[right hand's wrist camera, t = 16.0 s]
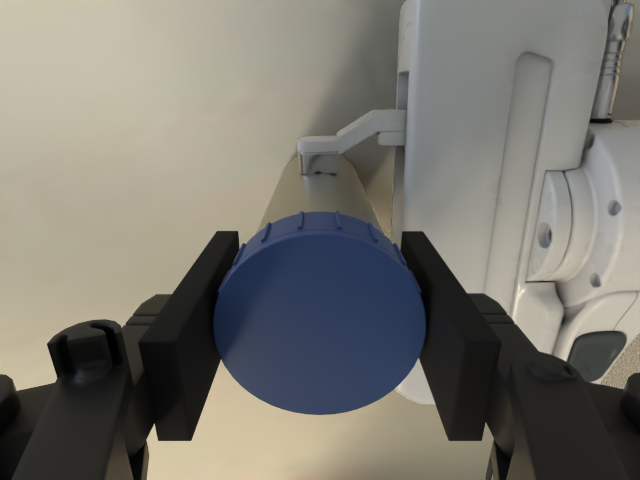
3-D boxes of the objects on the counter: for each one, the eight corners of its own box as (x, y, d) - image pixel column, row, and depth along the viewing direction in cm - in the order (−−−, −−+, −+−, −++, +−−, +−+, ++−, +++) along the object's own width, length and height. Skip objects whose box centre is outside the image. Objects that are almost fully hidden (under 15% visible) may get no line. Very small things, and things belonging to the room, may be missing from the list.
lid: (405, 372, 13) (419, 416, 11) (233, 372, 13) (220, 416, 11) (422, 209, 11) (441, 232, 9) (216, 209, 11) (196, 232, 9)
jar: (285, 230, 26) (245, 397, 12) (274, 152, 24) (210, 244, 10) (362, 222, 26) (412, 383, 12) (356, 144, 24) (409, 224, 10)
